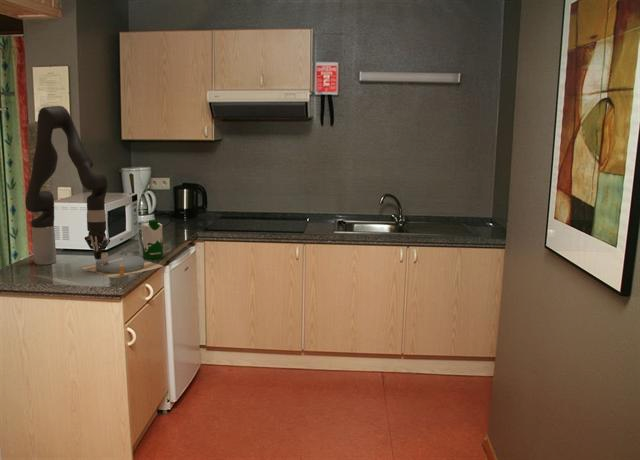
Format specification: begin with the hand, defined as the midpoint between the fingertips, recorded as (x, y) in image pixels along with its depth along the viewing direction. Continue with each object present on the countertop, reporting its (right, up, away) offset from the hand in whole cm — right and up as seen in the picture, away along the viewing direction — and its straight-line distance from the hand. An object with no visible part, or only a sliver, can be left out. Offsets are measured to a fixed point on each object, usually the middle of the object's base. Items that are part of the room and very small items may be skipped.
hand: (98, 259), depth 234 cm
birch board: (+8, -5, +9) cm, 13 cm away
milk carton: (+16, -2, +26) cm, 30 cm away
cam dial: (+7, -4, +7) cm, 11 cm away
